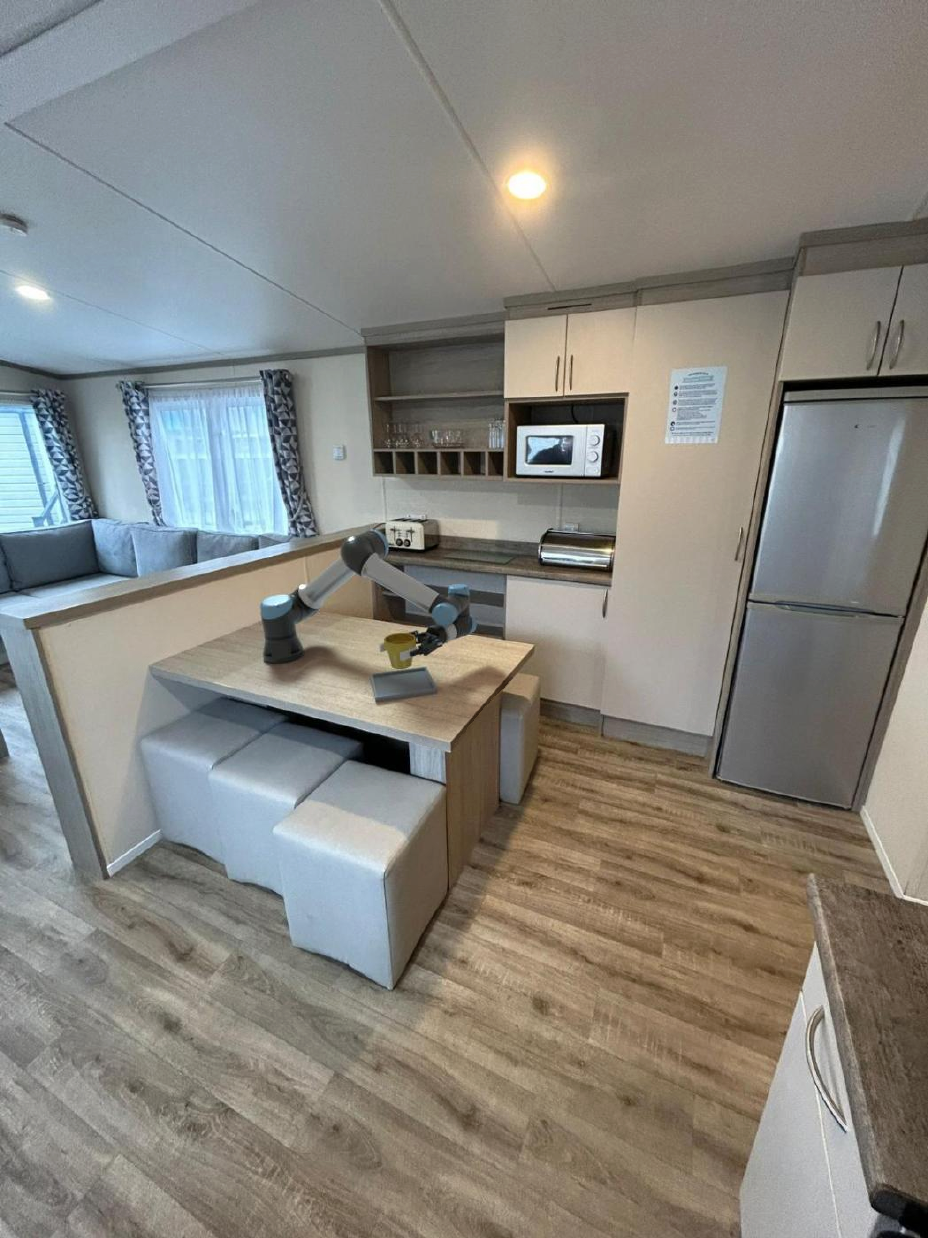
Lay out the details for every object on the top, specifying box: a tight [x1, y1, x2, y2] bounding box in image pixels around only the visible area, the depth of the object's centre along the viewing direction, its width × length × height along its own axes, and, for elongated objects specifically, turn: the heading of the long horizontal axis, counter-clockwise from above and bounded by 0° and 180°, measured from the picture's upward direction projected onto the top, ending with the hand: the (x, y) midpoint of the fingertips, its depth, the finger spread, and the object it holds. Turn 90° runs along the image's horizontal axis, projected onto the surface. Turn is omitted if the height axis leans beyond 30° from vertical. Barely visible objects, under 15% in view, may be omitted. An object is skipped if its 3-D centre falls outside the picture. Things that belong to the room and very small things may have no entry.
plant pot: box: [383, 632, 417, 670], centre depth 160 cm, size 10×10×10 cm
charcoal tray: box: [369, 666, 438, 704], centre depth 164 cm, size 20×18×2 cm
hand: (390, 652), depth 157 cm, fingers closed on plant pot, 10 cm apart
